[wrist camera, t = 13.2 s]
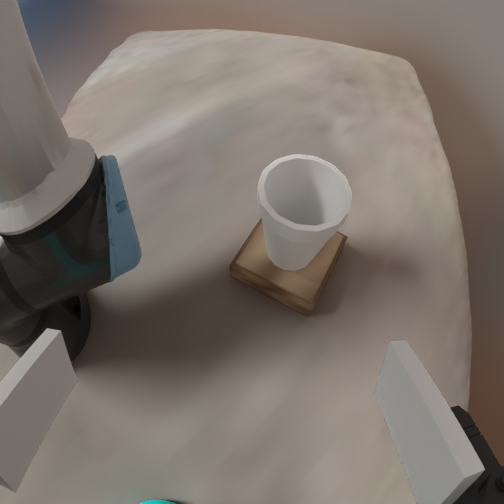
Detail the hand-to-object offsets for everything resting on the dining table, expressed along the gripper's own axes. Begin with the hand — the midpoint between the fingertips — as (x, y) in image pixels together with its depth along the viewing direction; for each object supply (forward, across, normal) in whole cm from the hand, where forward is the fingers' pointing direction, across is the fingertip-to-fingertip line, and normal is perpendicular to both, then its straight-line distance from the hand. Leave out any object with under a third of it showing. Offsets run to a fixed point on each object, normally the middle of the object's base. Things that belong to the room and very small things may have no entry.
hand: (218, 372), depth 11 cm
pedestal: (+34, +7, -8) cm, 35 cm away
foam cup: (+31, +6, -6) cm, 32 cm away
